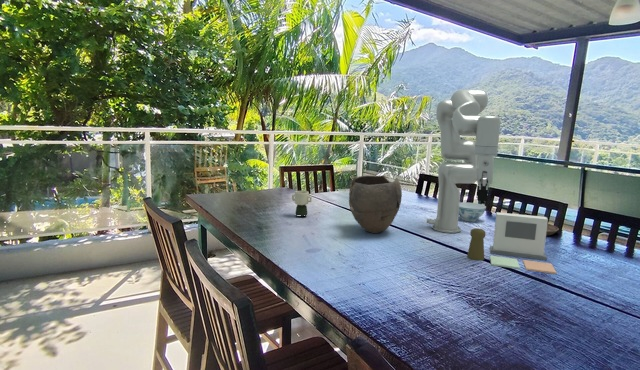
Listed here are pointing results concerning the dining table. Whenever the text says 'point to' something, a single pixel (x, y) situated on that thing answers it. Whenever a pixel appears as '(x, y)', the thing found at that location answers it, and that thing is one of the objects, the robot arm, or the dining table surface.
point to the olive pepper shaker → (476, 244)
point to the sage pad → (504, 262)
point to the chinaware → (471, 211)
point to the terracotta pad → (539, 266)
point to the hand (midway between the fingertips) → (481, 198)
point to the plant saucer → (551, 229)
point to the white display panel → (520, 235)
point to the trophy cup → (301, 202)
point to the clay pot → (374, 202)
